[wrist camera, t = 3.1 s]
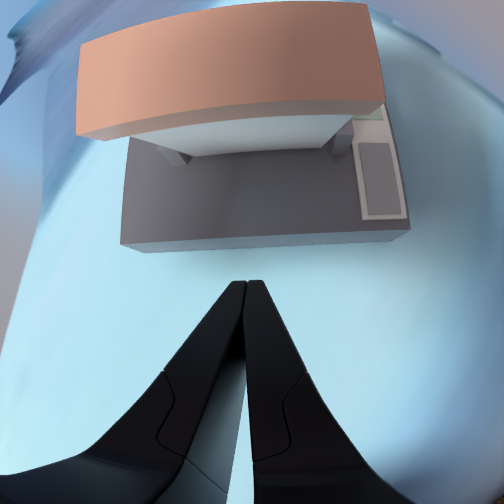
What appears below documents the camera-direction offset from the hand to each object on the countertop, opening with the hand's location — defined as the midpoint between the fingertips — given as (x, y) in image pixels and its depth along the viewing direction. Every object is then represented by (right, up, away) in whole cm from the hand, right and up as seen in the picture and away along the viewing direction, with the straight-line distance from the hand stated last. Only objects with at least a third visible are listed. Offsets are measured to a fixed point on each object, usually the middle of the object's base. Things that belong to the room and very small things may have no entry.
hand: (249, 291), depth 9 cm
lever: (0, +7, +6) cm, 9 cm away
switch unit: (+1, +6, +9) cm, 11 cm away
